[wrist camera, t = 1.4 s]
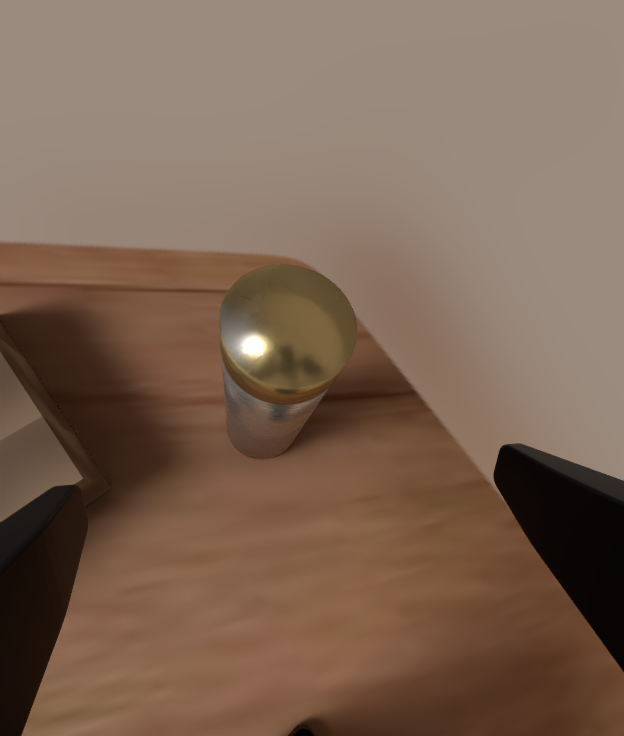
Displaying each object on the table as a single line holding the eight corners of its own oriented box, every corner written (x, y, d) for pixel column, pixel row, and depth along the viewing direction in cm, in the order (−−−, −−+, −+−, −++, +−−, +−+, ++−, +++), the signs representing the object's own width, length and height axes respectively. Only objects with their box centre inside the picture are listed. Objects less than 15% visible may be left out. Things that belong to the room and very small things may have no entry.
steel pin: (311, 430, 22) (384, 337, 12) (255, 474, 21) (278, 417, 10) (268, 377, 23) (299, 244, 12) (211, 417, 22) (189, 305, 11)
